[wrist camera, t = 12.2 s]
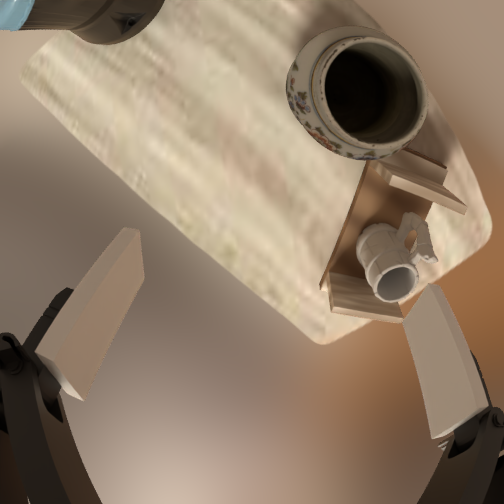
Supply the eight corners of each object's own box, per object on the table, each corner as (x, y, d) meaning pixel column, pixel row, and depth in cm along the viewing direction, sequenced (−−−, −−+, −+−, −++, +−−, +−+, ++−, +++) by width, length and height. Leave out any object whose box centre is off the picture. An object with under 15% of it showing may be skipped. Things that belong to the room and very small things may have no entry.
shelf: (374, 135, 32) (401, 150, 24) (442, 164, 32) (476, 187, 24) (319, 283, 47) (323, 325, 39) (379, 296, 47) (391, 335, 39)
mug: (344, 250, 41) (359, 305, 31) (391, 189, 34) (426, 231, 24) (379, 270, 42) (399, 325, 32) (425, 215, 36) (461, 261, 26)
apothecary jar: (394, 97, 29) (472, 113, 14) (333, 152, 34) (370, 207, 19) (329, 31, 25) (367, -14, 10) (266, 90, 31) (249, 91, 16)
